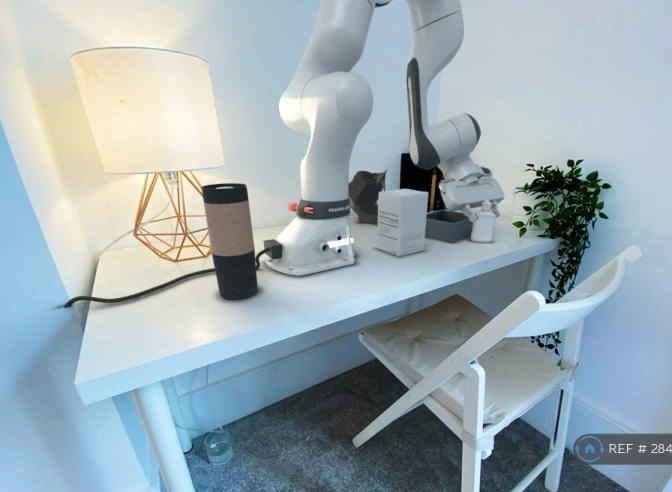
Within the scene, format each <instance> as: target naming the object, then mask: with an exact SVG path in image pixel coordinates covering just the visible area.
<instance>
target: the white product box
mask: <svg viewBox="0 0 672 492" xmlns="http://www.w3.org/2000/svg"><path fill="white" fill-rule="evenodd" d="M428 202H429V192H428V191H423V190H422V191H420V190H416V189H415V190H414V189H410V188H401V189H400V188H399V189H391V190H386V191H384V190H382V192H379V198H378V200H377V205H378V225H377V231H376V237H377V238H376V249H378V250H380V251H382V252H385V253H388V254H390V255H393V256H395V257H399V258H400V257H403V256H407V255H411V254H414V253H415V254H416V253H419V252H422V251H425V240H426V237H425V228H426V216H427V214H428V205H429V204H428Z"/></svg>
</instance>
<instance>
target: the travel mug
mask: <svg viewBox="0 0 672 492" xmlns="http://www.w3.org/2000/svg"><path fill="white" fill-rule="evenodd" d="M201 193H202V200H203V206H204V207H203V208H204V213H205V220H206V226H207V232H208V238H209V247H210V251H211V256H212V263H213V268H215V272H214V273H215V277H216V282H217V287H218V292H219V296H220V297H221V298H222V299H224V300H228V301H240V300H246V299H249V298H252V297H253V296H255V295H256V294H257V293H258V289H259V288H258V287H259V286H258V275H257V274H258V273H257V270H256V265H257V264H256V260H255V258H256V251H255V250H256V249H255V240H254V233H253V225H252V217H251V209H250V208H251V207H250V199H249V192H248V187H247V184H245V183H237V182H226V183H211V184H206V185H205V184H204V185H202V186H201Z"/></svg>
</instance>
